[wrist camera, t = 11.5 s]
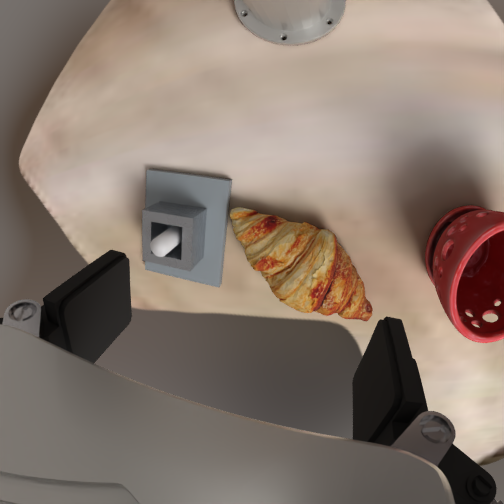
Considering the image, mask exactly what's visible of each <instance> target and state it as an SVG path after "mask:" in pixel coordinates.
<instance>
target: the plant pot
mask: <svg viewBox="0 0 504 504" xmlns="http://www.w3.org/2000/svg"><path fill="white" fill-rule="evenodd" d="M425 262H426V268H427V272H428V275H429V277H430V279H431V281H432V283H433V284H434V285H435V288H436V291H437V294H438V297H439V299H440V302H441V304H442V306H443V309H444V311H445V313H446V314H447V316H448V318H449V320H450V321H451V322H452V324H453V325H454V327H455V328H456V329H457V330H458V331H459V332H460V333H461V334H462V335H463V336H464V337H466V338H468V339H470V340H472V341H475V342H480V343H488V342H494V341H498V340H501V339H503V338H504V212H498V211H492V210H486V209H484V208H482V207H479V206H472V205H468V206H461V207H458V208H455V209H453V210H451V211H450V212H448V213H447V214H446V215H444V216H443V217H442V218H441V219H440V220H439V221H438V223H437V224H436V225H435V227H434V228H433V230H432V232H431V234H430V236H429V239H428V242H427V246H426V253H425ZM497 301H501V304H500V305H499V306H494V304H495V303H496V302H497ZM465 312H468V313H470V314H472V315H473V317H469V316H468V315H466V313H465ZM490 313H493V314H496V315H497V316H498V320H497V321H495V322H487V321H485V320H484V319H483V318H482V317H483V316H484V315H486V314H490ZM472 324H476V325H478V326H479V327H480V328H479V327H475V326H473V325H472Z"/></svg>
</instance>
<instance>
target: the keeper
mask: <svg viewBox="0 0 504 504" xmlns="http://www.w3.org/2000/svg"><path fill="white" fill-rule="evenodd" d="M231 184H232V180H230V179H224V178H217V177H210V176H203V175H195V174H188V173H180V172H172V171H164V170H155V169H149V170H147V175H146V203H145V208H147V207H149V206H151V205H153V204H155V203H157V202H159V201H163V202H170V203H176V204H183V205H189V206H195V207H201V208H207V217H206V231H205V247H204V257H203V258H202V259H201V261H200V262H199V263H198V264H197V265H196V266H195V267H194V268H193V269H192V270H191V271H186V270H182V269H177V268H173V267H168V266H164V265H160V264H155V263H151V262H147V261H145V270H149V271H153V272H157V273H161V274H165V275H169V276H173V277H177V278H182V279H186V280H190V281H194V282H198V283H203V284H207V285H211V286H215V287H220V285H221V282H222V272H223V261H224V251H225V241H226V231H227V221H228V212H229V202H230V193H231ZM182 228H183V227H179V226H173V225H168V229H167V230H166V231H164V232H163V233H161V234H160V235H159V236H157V237H156V238H154V239H153V240H152V241H151V243H150V248H151V251H152V252H153V253H154V254H155V255H156V256H158V257H163V256H165V255H166V254H167V253H168V252H170V251H171V250H172V249H173V248H174V247H176V246H177V245H178V244H179V243H181V244H182Z"/></svg>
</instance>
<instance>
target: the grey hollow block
mask: <svg viewBox="0 0 504 504" xmlns="http://www.w3.org/2000/svg"><path fill="white" fill-rule="evenodd" d="M206 217H207V208H201V207H195V206H189V205H183V204H176V203H170V202H163V201H159V202H157V203H155V204H153V205H151V206H149V207H147V208H145V209H143V210H142V247H143V261H147V262H151V263H155V264H160V265H164V266H168V267H173V268H177V269H182V270H186V271H191V270H192V269H193V268H194V267H195V266H196V265H197V264H198V263H199V262H200V261H201V259H202V258H203V257H204V247H205V231H206ZM168 225H173V226H179V227H183V228H182V244H181V243H179V244H178V245H177V246H176V247H174V248H173V249H172V250H171V251H170V252H168V253H167V254H166V255H165V256H163V257H158V256H156V255H155V254H154V253H153V252H152V251H151V248H150V243H151V241H152V240H153V239H154V238H156V237H157V236H159V235H160V234H161V233H163V232H164V231H166V230H167V229H168Z"/></svg>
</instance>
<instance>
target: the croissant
mask: <svg viewBox="0 0 504 504" xmlns="http://www.w3.org/2000/svg"><path fill="white" fill-rule="evenodd" d="M230 218H231V219H232V225H233V227H234V229H233V231H234V233H235V234H236V239H238V240H239V241H241V243H242V245H243V247H244V249H245V254H246V256H247V260H248V262H250V264H251V266H252V267H253V269H254V270H256V271H261V273H262V276H263V277H264V278H266V281H267V282H268V283H269V285H270V288H271V290H272V292H273V293H274V294H275V296H276V297H277V298H279V299H280V301H281V302H283V303H285V304H286V305H288V306H290V307H292V308H294V309H295V310H297V311H300V312H304V313H311V312H313V311H315V312H318V313H321V314H323V315H326V316H328V315H331V314H333V313H338V315H339V316H341V317H342V318H345V319H361V320H363V321H368V320H369V318H370V317H371V316H372V306H371V304H370V302H369V301H368V300H367V299H366V297H365V288H364V284H363V281H362V280H361V278H360V276H359V275H358V274H357V271H356V268H355V267H354V266H353V265H352V263H351V259H350V257H349V256H348V255H347V253H346V252H345V251H344V250H343V248H342V247H341V246H340V245H339V244H338V242H337V240H336V236H335V234H333V233H332V232H330V231H329V230H324V229H318V228H317V227H316V226H313V225H311V224H309V223H307V222H303V223H297V222H288V221H287V220H286V219H284V218H280V217H278V216H276V215H264V214H260V213H258V212H257V211H255V210H250V209H246V208H242V207H237V208H234V209H231V212H230Z"/></svg>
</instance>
